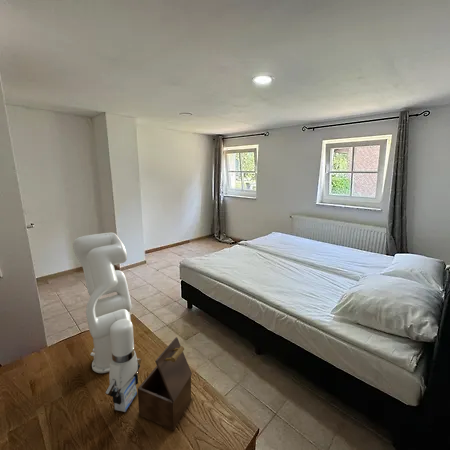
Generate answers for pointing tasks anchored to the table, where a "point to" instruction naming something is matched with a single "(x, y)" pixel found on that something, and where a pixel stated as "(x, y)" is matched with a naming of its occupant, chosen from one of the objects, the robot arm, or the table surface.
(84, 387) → the table surface
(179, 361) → the lid
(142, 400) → the chest
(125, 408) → the medicine box
